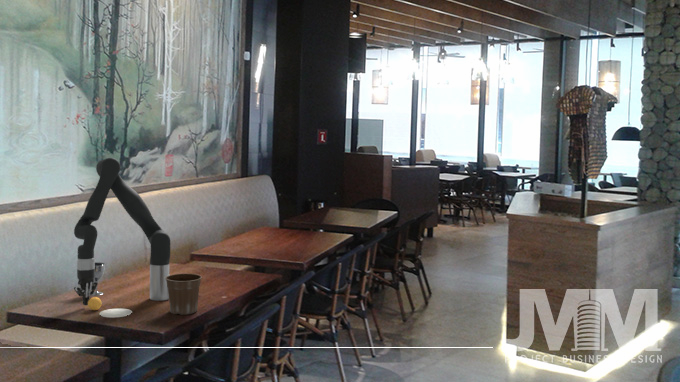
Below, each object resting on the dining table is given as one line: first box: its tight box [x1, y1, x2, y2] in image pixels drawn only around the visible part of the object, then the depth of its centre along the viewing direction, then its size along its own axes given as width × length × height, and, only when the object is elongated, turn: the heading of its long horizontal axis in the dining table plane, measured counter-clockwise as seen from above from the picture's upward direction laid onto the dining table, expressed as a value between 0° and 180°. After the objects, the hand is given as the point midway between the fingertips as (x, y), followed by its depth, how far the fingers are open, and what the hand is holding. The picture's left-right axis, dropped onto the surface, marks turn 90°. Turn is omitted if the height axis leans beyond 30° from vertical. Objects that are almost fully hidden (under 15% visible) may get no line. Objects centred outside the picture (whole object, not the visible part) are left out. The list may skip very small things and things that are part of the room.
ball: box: [87, 296, 102, 311], centre depth 319 cm, size 6×6×6 cm
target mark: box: [99, 308, 133, 318], centre depth 315 cm, size 14×14×1 cm
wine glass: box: [90, 261, 106, 297], centre depth 347 cm, size 8×8×15 cm
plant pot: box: [165, 273, 203, 316], centre depth 320 cm, size 16×16×16 cm
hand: (86, 304), depth 322 cm, fingers closed
